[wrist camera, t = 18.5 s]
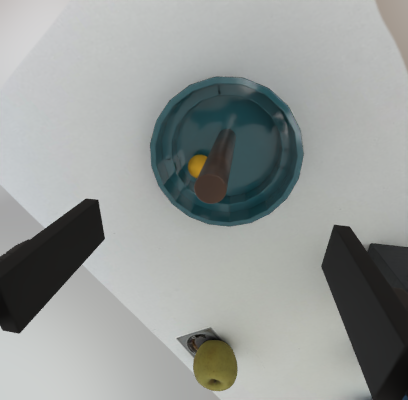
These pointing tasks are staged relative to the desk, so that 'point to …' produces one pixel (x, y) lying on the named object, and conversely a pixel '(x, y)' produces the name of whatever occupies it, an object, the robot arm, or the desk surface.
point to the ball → (196, 165)
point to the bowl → (243, 150)
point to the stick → (216, 169)
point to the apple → (215, 365)
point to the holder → (391, 263)
